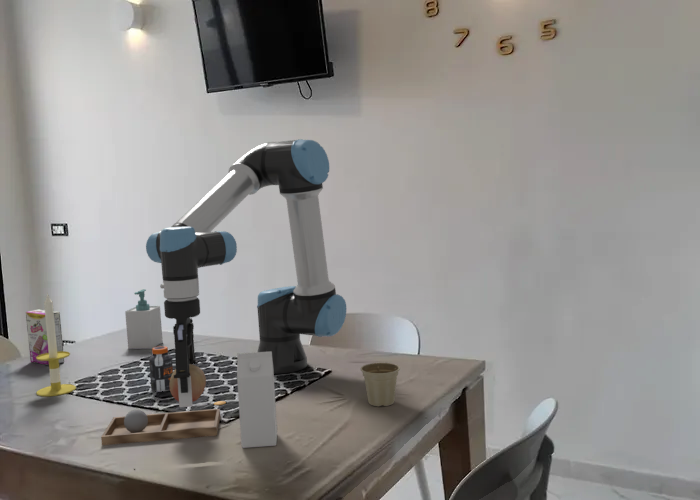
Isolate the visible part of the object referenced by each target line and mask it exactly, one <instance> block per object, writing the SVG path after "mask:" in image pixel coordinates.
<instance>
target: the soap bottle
mask: <svg viewBox="0 0 700 500" xmlns="http://www.w3.org/2000/svg"><path fill="white" fill-rule="evenodd" d="M146 291H147V289H140V290H139V291H135V292H133V293H134V295H136V296H137V295H138V297H139V300H137V304H136V305H135V307H133V308H129V309H127V310H125V312H124V314H125V325H126V337H127V340H126V341H127V348H128V350H129V349H130V350H135V349H137V350H139V349H140V350H143V349H144V350H147V349H149V350H152V348H154V347H158V346H160V345H161V344H162V343H163V330H162V329H163V328H162V318H161V317H162V316H161V315H162V314H161V306H160V305H150V304H149V303H148V301H147V299H145V295H146V294H145V292H146Z"/></svg>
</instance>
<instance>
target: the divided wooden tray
mask: <svg viewBox="0 0 700 500" xmlns="http://www.w3.org/2000/svg"><path fill="white" fill-rule="evenodd" d="M146 415H147V418H148V423H147V426H146V428H145V429H144V430H143V431H141V432H139V433H132V432H130V431H128V430H127V429H126V428H125V425H124V419H125V416H126V415H125V416H123V415H122V416H113V417H112V419H111V421H110V422H109V424H107V427H106V428H105V430H104V432H103V433H102V435H101V437H100V439H101V445H102V446H109V445H122V444H131V443H133V444H134V443H145V442H155V441H167V440H179V439H191V438H201V437H202V438H203V437H216V436H217V435H218V431H219V426H220V421H221V409H220V408H211V409H200V410H198V409H197V410H186V411H175V412H173V411H172V412H164V413H161V412H160V413H151V414H150V413H149V414H146Z"/></svg>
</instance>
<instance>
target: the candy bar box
mask: <svg viewBox="0 0 700 500" xmlns="http://www.w3.org/2000/svg"><path fill="white" fill-rule="evenodd" d="M53 311H54V310H53ZM60 314H61V313H60V311H54V322H55V333H56V344H57V352H58V351H64V345H63V344H64V343H63V334H62V332H63V331H62V324H61V315H60ZM25 318H26V319H25V321H26V330H27V338H28V340H27V341H28V350H29V358H30V362H31V363H34V364H40V365H45V366H49V361H40V360H37V359H36V357H37V356H39V355H41V354H45V353H49V351H48V340H47V329H46V318H45V309H39V308H38V309H33V310H28V311H25ZM63 363H65V358H62V359H59V365H60V364H63Z"/></svg>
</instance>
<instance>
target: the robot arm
mask: <svg viewBox="0 0 700 500" xmlns="http://www.w3.org/2000/svg"><path fill="white" fill-rule="evenodd" d="M329 172H330V160H329V157H328V154H327V152H326V150H325V149H324V147H323V146H321V144H320V143H319V142H317V141H316V140H313V139H301V138H300V139H293V140H284V141H283V140H282V141H268V142H264V143H262V144H260V145H257V146H255V147H254V148H252V149H251V150H249V151H247V152H246V153H245V154H243V155H242V156H241V157H239V158H238V159H237V160H236V161H234V163H233V164H232V165H231V166H230V167H228V173H227V175H226V176H224V178H222V179H221V180H220V181H219V182H218V183H217V184H215V185H214V187H213V188H212V189H211V190H209V191H208V192H207V193H206V194H205V195H204V196H203V197H202V198H200V200H199V201H197V202H196V203H195V204H194V205H193V206H192V207H191V208H190V209H189V210H188V211H187V212H186V213H184V215H183V216H181V217H180V218H179V219H177V221H176V222H175V223H173V224H172V225H171V226H170V227H165V228H163V229H161V231H157V232H153V233H151V234H150V236H148V238H147V240H146V243H145V251H146V254H147V257H148V258H149V259H150V260H151V261H153V262H154V263H157V264H161V265H160V266H161V275H162V283H161V284H160V289H163V298H165V300H164V302H163V307H164V316H165V317H166V318H167V319H170V320H171V319H174V320H175V324H174V326H173V327H172V329H173V330H172V332H173V335H174V336H173V338H174V352H175V353H174V354H175V356H174V357H175V359H174V360H175V369H176V375H174V378H177V379H178V394H179V402H178V405H179V406H178V408H187V407H188V408H191V407H193V405H194V404H193V403H194V402H192V388H191V376H190V370H189V364H193V365H198V363H199V361H198V359H196V355H195V354H196V353H195V342H194V339H195V338H194V337H195V336H194V329H195V328H194V325H195V324H194V322H193V318H196V317H198V316H199V315H200V314H201V302H200V298H199V297H198V296H199V295H200V283H199V269H200V268H204V267H210V266H217V265H219V266H220V265H221V266H222V265H223V264H227V263H230V262H231V261H232V260H234V258H235V257H236V255H237V253H238V246H237V241H236V238H235V237H234V236H233V234H231V233H230V232H227V231H225V230H224V231H220V230H219V231H218V230H216V231H213V230H215V228H216V227H218V225H219V224H220V223H221V222H222V221H223V220H225V218H226V217H227V216H228V215H229V214H230V213H231V212H233V210H234V209H236V207H238V205H239V204H240V203H242V202H243V201H244V200H245V199H246V198H247V197H248V196H249V195H255V194H256V193H257V192H258V191H259V190H260V189H263V188H265V187H269V186H278V188H279V189H278V190H279V195H280V196H281V197H283V198H284V199H285V200H286V205H287V208H286V209H287V214H288V220H289V221H288V222H289V228H290V229H289V230H290V235H291V236H290V237H291V243H292V245H291V246H292V251H293V258H294V265H295V271H296V272H295V273H296V281H297V284H296V286H295V285H290V286H281V287H276V288H270V289H266V290H265V289H264V290H263V291H260V292H259V293H258V295H257V306H256V308H257V320H258V331H259V332H258V334H259V345H258V348H257V351H256V352H270V351H272V360H273V371H274V374H286V373H287V374H289V373H294V372H298V371H301V370H303V369H306V367H307V366H308V356H307V354H306V352H305V348H304V347H303V344H302V341H301V335H306V336H315V337H317V338H319V337H320V338H321V337H332V336H335V335H336V334H338V333H339V331H341V329H342V328H343V325H344V323H345V321H346V316H347V303H346V300H345V299H344V297H343V296H342V295H340V294H337V292H336V286H335V284H334V283H333V282H332V281H330V279H329V278H330V277H329V271H328V264H327V263H328V262H327V256H326V248H325V240H324V233H323V226H322V215H321V208H320V201H319V194H320V193H321V192H322V190H323V189H324V186H323V185H324V182H326V181H327V179H328V178H329Z"/></svg>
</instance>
